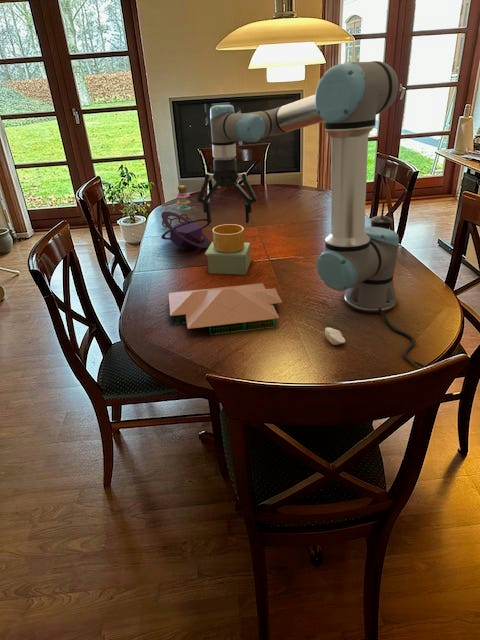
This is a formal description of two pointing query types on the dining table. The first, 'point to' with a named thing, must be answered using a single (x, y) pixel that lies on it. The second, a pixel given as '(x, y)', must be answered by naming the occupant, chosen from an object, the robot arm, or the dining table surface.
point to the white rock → (334, 336)
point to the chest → (229, 264)
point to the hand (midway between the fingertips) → (228, 221)
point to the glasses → (179, 220)
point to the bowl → (228, 238)
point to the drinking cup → (381, 220)
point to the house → (225, 306)
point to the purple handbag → (185, 226)
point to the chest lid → (240, 253)
